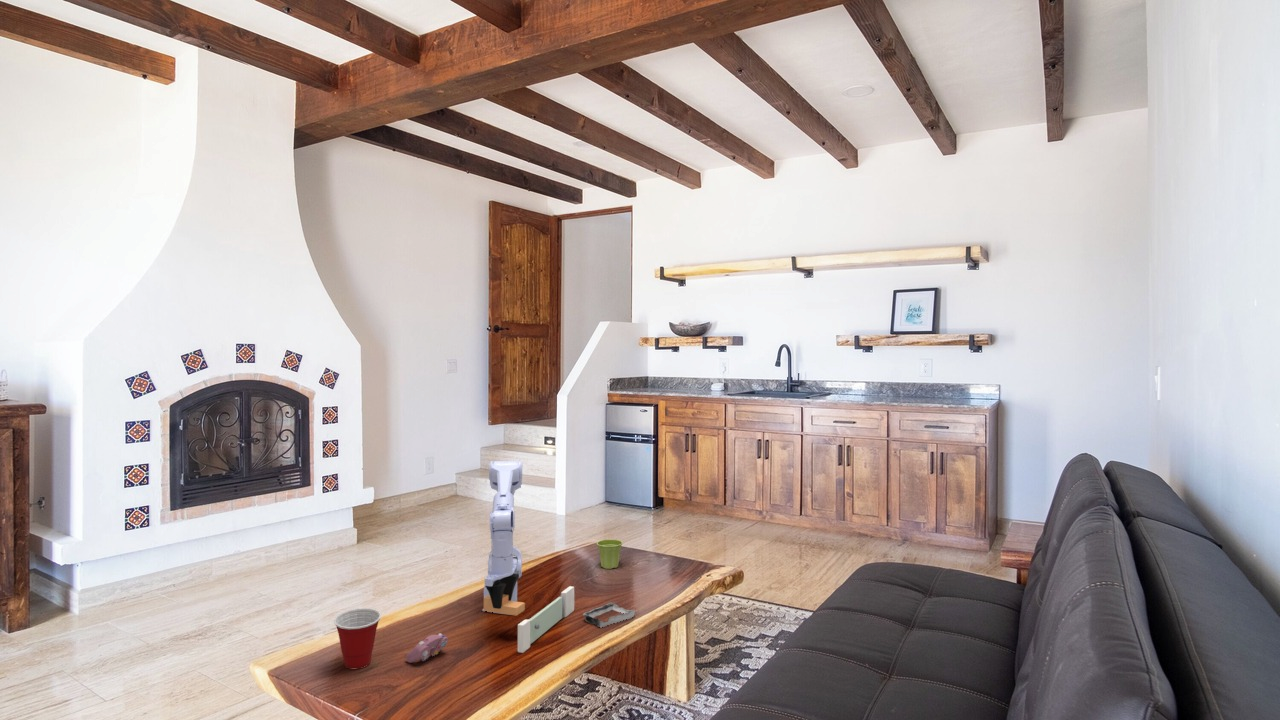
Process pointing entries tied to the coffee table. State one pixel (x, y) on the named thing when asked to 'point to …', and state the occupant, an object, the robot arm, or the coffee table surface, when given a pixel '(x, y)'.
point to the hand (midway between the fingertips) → (502, 604)
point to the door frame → (525, 625)
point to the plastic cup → (357, 635)
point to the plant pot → (609, 553)
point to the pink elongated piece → (427, 648)
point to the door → (546, 618)
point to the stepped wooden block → (504, 606)
